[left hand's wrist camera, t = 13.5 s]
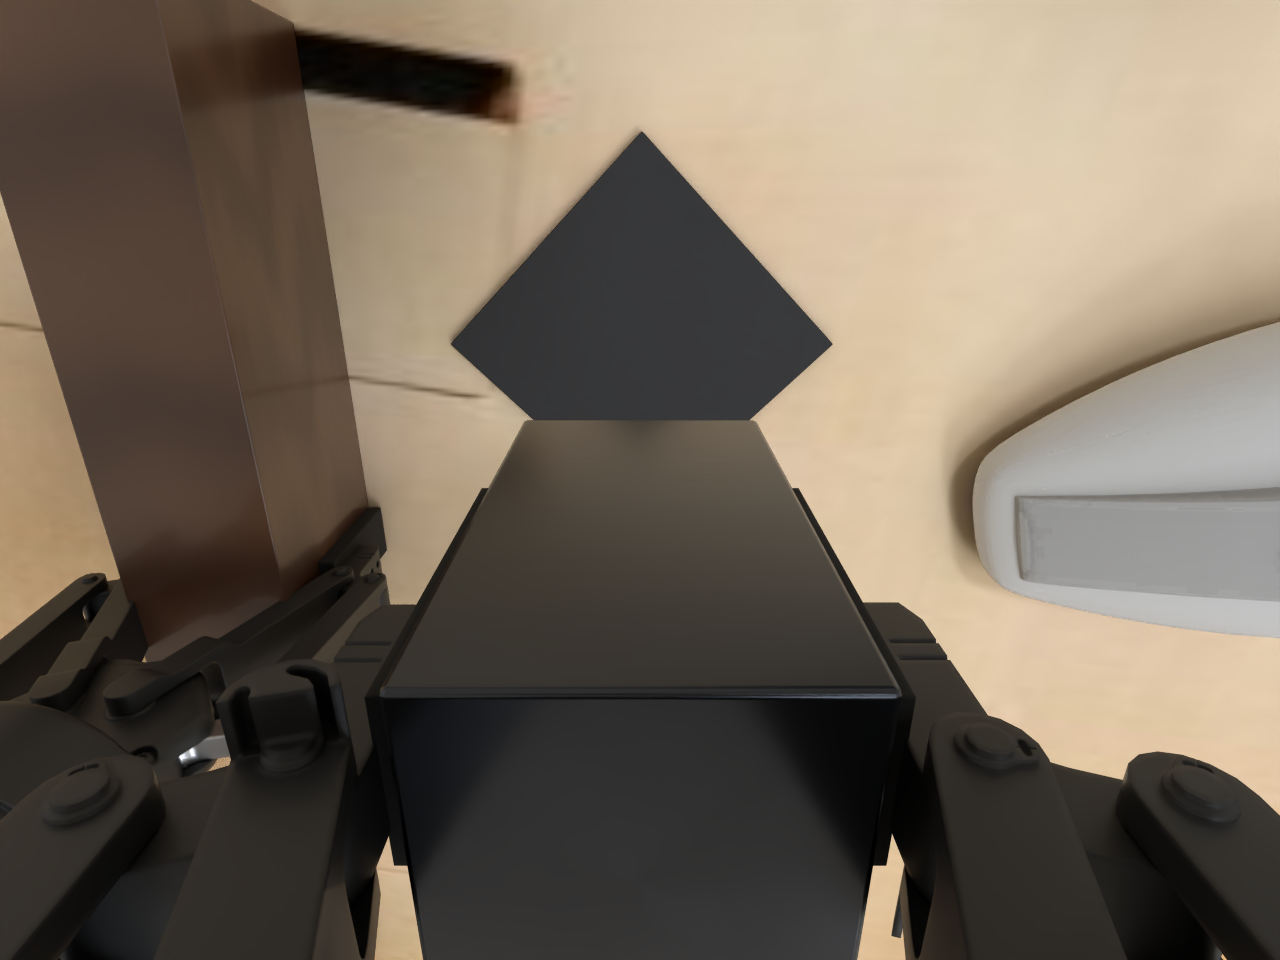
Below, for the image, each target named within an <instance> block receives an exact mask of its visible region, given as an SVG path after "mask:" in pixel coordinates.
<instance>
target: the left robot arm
mask: <svg viewBox="0 0 1280 960" xmlns="http://www.w3.org/2000/svg"><path fill="white" fill-rule="evenodd" d="M792 489H793V491H794V493H795V495H796V497H797V498H798V500H799V502H800V504H801V506H802V508H803V510H804V511H805V513H806V515H807V517H808V519H809V521H810V522H811V524H812V526H813V528H814V530H815V532H816V534H817V535H818V537H819V539H820V541H821V543H822V545H823V547H824V548H825V550H826V552H827V554H828V556H829V558H830V560H831V561H832V563H833V565H834V567H835V569H836V571H837V572H838V574H839V576H840V578H841V580H842V582H843V584H844V585H845V587H846V589H847V591H848V593H849V595H850V597H851V598H852V600H853V602H854V604H855V606H856V608H857V610H858V611H859V613H860V615H861V617H862V619H863V621H864V622H865V624H866V626H867V628H868V630H869V632H870V634H871V635H872V637H873V639H874V641H875V643H876V645H877V647H878V648H879V650H880V652H881V654H882V656H883V658H884V660H885V661H886V663H887V665H888V667H889V669H890V671H891V672H892V674H893V676H894V678H895V680H896V682H897V684H898V685H899V687H900V690H901V693H902V696H901V703H900V709H899V715H898V721H897V727H896V733H895V739H894V745H893V750H892V756H891V762H890V768H889V774H888V780H887V786H886V792H885V798H884V804H883V809H882V815H881V821H880V827H879V833H878V839H877V845H876V851H875V857H874V863H873V866H886V864H887V859H888V853H889V848H890V842H891V836H892V834H893V837H894V839H895V842H896V844H897V847H898V849H899V852H900V854H901V857H902V859H903V862H904V869H903V875H902V880H901V885H900V890H899V896H898V901H897V906H896V911H895V917H894V922H893V929H892V936H894V937H898V938H901V934H902V928H903V935H904V946H905V956H906V960H1223V959H1222V958H1221V955H1222V954H1223V955H1224V956H1225V958H1226V959H1227V960H1280V815H1279V814H1277V813H1276V812H1275V811H1274V810H1273V809H1272V808H1271V807H1270V806H1269V805H1268V804H1267V803H1266V802H1265V801H1264V800H1263V799H1262V798H1261V797H1260V796H1259V795H1257V794H1256V793H1255V792H1254V791H1252V790H1251V789H1250V788H1248V787H1247V786H1246V785H1245V784H1243V783H1242V782H1241V781H1239V780H1238V779H1237V778H1235V777H1233V776H1231V775H1229V774H1227V773H1226V772H1224V771H1222V770H1220V769H1218V768H1216V767H1214V766H1212V765H1210V764H1208V763H1205V762H1202V761H1200V760H1196V759H1193V758H1190V757H1187V756H1184V755H1179V754H1172V753H1165V752H1152V753H1145V754H1139V755H1138V756H1137V757H1135V758H1134V759H1133V760H1132V761H1131V762H1129V763H1128V766H1127V769H1126V772H1125V775H1124V779H1123V780H1120V779H1116V778H1111V777H1107V776H1102V775H1098V774H1094V773H1089V772H1085V771H1080V770H1076V769H1072V768H1068V767H1064V766H1061V765H1058V764H1054V763H1051V762H1050V761H1049V759H1048V757H1047V756H1046V754H1045V753H1044V751H1043V750H1042V748H1041V747H1040V745H1039V744H1038V743H1037V742H1036V741H1035V740H1034V739H1032V738H1031V737H1030V736H1029V735H1027V734H1026V733H1025V732H1024V731H1022V730H1021V729H1019V728H1017V727H1015V726H1013V725H1011V724H1009V723H1007V722H1005V721H1003V720H1001V719H999V718H995V717H991V716H988V715H987V713H986V712H985V711H984V709H983V708H982V706H981V705H980V703H979V702H978V700H977V699H976V697H975V696H974V694H973V693H972V692H971V690H970V689H969V687H968V686H967V684H966V683H965V681H964V680H963V678H962V677H961V675H960V674H959V673H958V671H957V670H956V668H955V667H954V665H953V664H952V662H951V661H950V660H947V655H946V654H945V652H944V651H943V649H942V648H941V646H940V645H939V643H936V639H935V637H934V636H933V634H932V633H931V632H930V630H929V629H928V627H927V626H926V624H925V623H924V621H923V620H922V619H921V618H919V617H918V616H917V615H915V614H914V613H912V612H911V611H909V610H908V609H907V608H905V607H904V606H902V605H901V604H900V603H863V602H862V600H861V598H860V597H859V595H858V593H857V591H856V590H855V588H854V586H853V584H852V582H851V581H850V579H849V577H848V575H847V574H846V572H845V570H844V568H843V566H842V565H841V563H840V561H839V559H838V558H837V556H836V554H835V552H834V550H833V549H832V547H831V545H830V543H829V542H828V540H827V538H826V536H825V534H824V533H823V531H822V529H821V527H820V526H819V524H818V522H817V520H816V519H815V517H814V515H813V513H812V511H811V510H810V508H809V506H808V504H807V503H806V501H805V499H804V497H803V495H802V494H801V492H800V490H799V488H792ZM487 490H488V488H482V489H481V491H480V493H479V494H478V496H477V498H476V500H475V502H474V503H473V505H472V507H471V509H470V510H469V512H468V514H467V516H466V518H465V519H464V521H463V523H462V525H461V526H460V528H459V530H458V532H457V534H456V535H455V537H454V539H453V541H452V542H451V544H450V546H449V548H448V550H447V551H446V553H445V555H444V557H443V558H442V560H441V562H440V564H439V566H438V567H437V569H436V571H435V573H434V574H433V576H432V578H431V580H430V582H429V583H428V585H427V587H426V589H425V590H424V592H423V594H422V596H421V598H420V599H419V601H418V603H417V605H381V606H380V607H379V608H377V609H376V610H374V611H373V612H372V613H370V614H369V615H367V616H366V617H365V618H363V619H362V620H360V621H359V622H358V623H357V625H356V626H355V628H354V629H353V631H352V632H351V634H350V635H349V637H348V638H347V640H346V641H345V646H342V647H341V648H340V650H339V651H338V653H337V654H336V656H335V657H334V662H331V663H330V664H329V663H326V662H322V661H318V660H314V659H297V660H287V661H283V662H279V663H275V664H271V665H267V666H265V667H262V668H260V669H258V670H256V671H253V672H251V673H249V674H247V675H245V676H243V677H242V678H240V679H239V680H238V681H236V682H235V683H233V684H232V685H231V686H229V687H228V688H227V689H226V690H225V691H224V692H223V694H222V695H221V696H220V698H219V699H218V700H217V702H216V707H217V710H218V714H219V718H220V721H221V725H222V729H223V732H224V736H225V739H226V743H227V747H228V750H229V754H230V758H231V762H230V764H229V766H226V767H222V768H219V769H216V770H212V771H208V772H204V773H199V774H195V775H191V776H186V777H182V778H177V779H173V780H169V781H164V782H160V783H158V780H157V777H156V774H155V771H154V768H153V766H152V765H151V764H150V763H149V762H148V761H146V760H145V759H144V758H143V757H137V756H131V755H125V754H123V755H116V756H108V757H101V758H97V759H94V760H91V761H88V762H85V763H82V764H79V765H76V766H73V767H71V768H69V769H67V770H65V771H64V772H62V773H60V774H58V775H56V776H54V777H52V778H50V779H49V780H47V781H45V782H44V783H42V784H41V785H40V786H38V787H37V788H36V789H35V790H33V791H32V792H31V793H30V794H28V795H27V796H26V797H24V798H23V799H22V800H21V801H20V802H19V803H18V804H17V805H16V806H15V807H14V808H13V809H12V810H11V811H10V812H9V813H8V814H7V815H6V816H5V817H4V818H2V819H1V820H0V960H58V958H59V957H60V958H61V960H374V958H375V947H376V937H377V927H378V916H379V906H380V895H381V894H380V887H379V880H378V875H377V869H376V866H377V864H378V861H379V859H380V856H381V854H382V851H383V849H384V846H385V844H386V841H387V839H388V836H389V839H390V845H391V851H392V856H393V862H394V866H407V860H406V854H405V848H404V842H403V836H402V830H401V824H400V818H399V812H398V806H397V800H396V794H395V788H394V782H393V776H392V770H391V764H390V758H389V752H388V746H387V740H386V735H385V729H384V723H383V717H382V711H381V705H380V699H379V692H380V689H381V686H382V685H383V683H384V681H385V679H386V677H387V675H388V674H389V672H390V670H391V668H392V666H393V664H394V662H395V661H396V659H397V657H398V655H399V653H400V651H401V649H402V648H403V646H404V644H405V642H406V640H407V638H408V636H409V635H410V633H411V631H412V629H413V627H414V625H415V623H416V622H417V620H418V618H419V616H420V614H421V612H422V611H423V609H424V607H425V605H426V603H427V601H428V599H429V598H430V596H431V594H432V592H433V590H434V588H435V586H436V585H437V583H438V581H439V579H440V577H441V575H442V573H443V572H444V570H445V568H446V566H447V564H448V562H449V561H450V559H451V557H452V555H453V553H454V551H455V549H456V548H457V546H458V544H459V542H460V540H461V538H462V536H463V535H464V533H465V531H466V529H467V527H468V525H469V523H470V522H471V520H472V518H473V516H474V514H475V512H476V511H477V509H478V507H479V505H480V503H481V501H482V499H483V498H484V496H485V494H486V492H487Z"/></svg>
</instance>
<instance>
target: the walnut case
mask: <svg viewBox="0 0 1280 960" xmlns="http://www.w3.org/2000/svg"><path fill="white" fill-rule="evenodd" d="M0 193H1V196H2V199H3V202H4V206H5V209H6V212H7V215H8V218H9V222H10V225H11V228H12V231H13V234H14V238H15V241H16V244H17V247H18V251H19V254H20V257H21V260H22V263H23V267H24V270H25V273H26V276H27V279H28V283H29V286H30V289H31V292H32V295H33V299H34V302H35V305H36V308H37V312H38V315H39V318H40V321H41V324H42V328H43V331H44V334H45V337H46V340H47V344H48V347H49V350H50V353H51V357H52V360H53V363H54V366H55V369H56V373H57V376H58V379H59V382H60V385H61V389H62V392H63V395H64V398H65V401H66V405H67V408H68V411H69V414H70V418H71V421H72V424H73V427H74V430H75V434H76V437H77V440H78V443H79V446H80V450H81V453H82V456H83V459H84V463H85V466H86V469H87V472H88V475H89V479H90V482H91V485H92V488H93V491H94V495H95V498H96V501H97V504H98V507H99V511H100V514H101V517H102V520H103V524H104V527H105V530H106V533H107V536H108V540H109V543H110V546H111V549H112V552H113V556H114V559H115V562H116V565H117V569H118V572H119V575H120V578H121V581H122V585H123V588H124V591H125V594H126V597H127V601H134V602H135V605H136V608H137V612H138V615H139V618H140V621H141V625H142V628H143V631H144V634H145V637H146V641H147V644H148V647H149V648H148V650H147V652H146V654H145V658H146V662H154V661H161V660H163V659H165V658H166V657H168V656H170V655H171V654H173V653H175V652H176V651H178V650H180V649H181V648H183V647H185V646H186V645H188V644H190V643H191V642H193V641H195V640H196V639H198V638H200V637H202V636H209V637H213V638H216V639H218V638H220V637H222V636H223V635H225V634H227V633H228V632H230V631H231V630H233V629H235V628H236V627H238V626H240V625H241V624H243V623H244V622H246V621H248V620H249V619H251V618H252V617H254V616H256V615H257V614H259V613H261V612H262V611H264V610H265V609H267V608H269V607H270V606H272V605H274V604H275V603H277V602H278V601H287V600H288V599H289V598H290V596H291V595H292V594H293V593H294V592H295V591H296V590H298V589H300V588H301V587H303V586H304V585H306V584H308V583H309V582H311V581H313V580H314V579H316V578H317V577H319V576H320V571H319V566H318V562H319V561H320V560H321V559H322V557H323V556H324V555H325V554H326V553H327V552H328V551H329V550H330V549H331V548H332V546H333V545H334V544H335V543H336V542H337V541H338V540H339V539H340V538H341V536H342V535H343V534H344V533H345V532H346V531H347V530H348V529H349V528H350V526H351V525H352V524H353V523H354V522H355V521H356V520H357V519H358V518H359V517H360V515H361V514H362V513H363V512H364V511H365V510H366V509H367V508H369V507H368V501H367V494H366V488H365V481H364V475H363V468H362V462H361V456H360V449H359V443H358V436H357V430H356V424H355V417H354V411H353V404H352V398H351V391H350V385H349V379H348V372H347V366H346V359H345V353H344V347H343V340H342V334H341V327H340V321H339V314H338V308H337V302H336V295H335V289H334V282H333V276H332V270H331V263H330V257H329V250H328V244H327V237H326V231H325V225H324V218H323V212H322V205H321V199H320V193H319V186H318V180H317V173H316V167H315V160H314V154H313V148H312V141H311V135H310V128H309V122H308V116H307V109H306V103H305V96H304V90H303V83H302V77H301V71H300V64H299V58H298V51H297V45H296V38H295V32H294V26H293V23H292V22H290V21H289V20H287V19H285V18H283V17H281V16H279V15H277V14H275V13H273V12H271V11H270V10H268V9H266V8H264V7H262V6H260V5H258V4H256V3H254V2H253V1H251V0H0ZM200 672H201V671H200Z"/></svg>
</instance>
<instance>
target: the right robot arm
mask: <svg viewBox="0 0 1280 960" xmlns="http://www.w3.org/2000/svg"><path fill="white" fill-rule="evenodd" d="M386 551H387V548H386V541H385V535H384V528H383V522H382V515H381V508H367V509H366V510H365V511H364V512H363V513H362V514H361V515H360V517H359V518H358V519H357V520H356V521H355V522H354V523H353V524H352V525H351V526H350V528H349V529H348V530H347V531H346V532H345V533H344V534H343V535H342V536H341V538H340V539H339V540H338V541H337V542H336V543H335V544H334V545H333V546H332V548H331V549H330V550H329V551H328V552H327V553H326V554H325V555H324V556H323V557H322V559H321V560H320V561H319V562H318V566H319V571H320V576H319V577H317V578H316V579H314V580H313V581H311V582H309V583H308V584H306V585H304V586H303V587H301V588H300V589H298V590H296V591H295V592H294V593H293V594H292V595H291V596H290V598H289V599H288V600H287V601H278V602H277V603H275V604H274V605H272V606H270V607H269V608H267V609H265V610H264V611H262V612H261V613H259V614H257V615H256V616H254V617H252V618H251V619H249V620H248V621H246V622H244V623H243V624H241V625H240V626H238V627H236V628H235V629H233V630H231V631H230V632H228V633H227V634H225V635H223V636H222V637H220V638H218V639H216V638H213V637H209V636H202V637H200V638H198V639H196V640H195V641H193V642H191V643H190V644H188V645H186V646H185V647H183V648H181V649H180V650H178V651H176V652H175V653H173V654H171V655H170V656H168V657H166V658H165V659H163V660H161V661H154V662H142V660H143V658H144V656H145V654H146V652H147V650H148V648H149V647H148V644H147V641H146V637H145V634H144V631H143V628H142V625H141V621H140V618H139V615H138V612H137V608H136V605H135V602H134V601H127V597H126V594H125V591H124V588H123V585H122V581H121V578H120V579H119V580H112V581H107V579H106V576H105V574H103V573H94V574H93V573H91V574H87V575H84V576H83V577H80V578H79V579H77V580H75V581H74V582H73V583H72V584H70V585H69V586H68V587H66V588H65V589H64V590H63V591H61V592H60V593H59V594H58V595H56V596H55V597H54V598H53V599H51V600H50V601H49V602H48V603H46V604H45V605H44V606H42V607H41V608H40V609H39V610H37V611H36V612H35V613H34V614H32V615H31V616H30V617H29V618H27V619H26V620H25V621H23V622H22V623H21V624H20V625H18V626H17V627H16V628H15V629H13V630H12V631H11V632H10V633H8V634H7V635H6V636H5V637H3V638H2V639H1V640H0V820H1V819H2V818H4V817H5V816H6V815H7V814H8V813H9V812H10V811H11V810H12V809H13V808H14V807H15V806H16V805H17V804H18V803H19V802H20V801H21V800H22V799H23V798H24V797H26V796H27V795H28V794H30V793H31V792H32V791H33V790H35V789H36V788H37V787H38V786H40V785H41V784H42V783H44V782H45V781H47V780H49V779H50V778H52V777H54V776H56V775H58V774H60V773H62V772H64V771H65V770H67V769H69V768H71V767H73V766H76V765H79V764H82V763H85V762H88V761H91V760H94V759H97V758H101V757H108V756H116V755H123V754H125V755H131V756H137V757H143V758H144V759H145V760H146V761H148V762H149V763H150V764H151V765H152V766H153V768H154V771H155V774H156V777H157V780H158V783H160V782H164V781H169V780H173V779H177V778H182V777H186V776H191V775H195V774H199V773H204V772H207V771H208V770H209V769H210V768H211V767H212V766H213V765H214V764H215V762H216V761H217V759H218V758H222V757H229V756H230V754H229V750H228V747H227V743H226V739H225V736H224V732H223V729H222V725H221V721H220V718H219V714H218V710H217V707H216V702H217V700H218V699H219V698H220V696H221V695H222V694H223V692H224V691H225V690H226V689H227V688H228V687H229V686H231V685H232V684H233V683H235V682H236V681H238V680H239V679H240V678H242V677H243V676H245V675H247V674H249V673H251V672H253V671H256V670H258V669H260V668H262V667H265V666H267V665H271V664H275V663H279V662H283V661H287V660H297V659H314V660H318V661H322V662H326V663H329V664H330V663H331V662H334V657H335V656H336V654H337V653H338V651H339V650H340V648H341V647H342V646H345V641H346V640H347V638H348V637H349V635H350V634H351V632H352V631H353V629H354V628H355V626H356V625H357V623H358V622H359V621H360V620H362V619H363V618H365V617H366V616H367V615H369V614H370V613H372V612H373V611H374V610H376V609H377V608H379V607H380V606H381V605H390V600H389V593H388V587H387V581H386V576H385V574H383V573H382V569H381V562H380V559H381V557H382V556H383V555H384V553H385V552H386ZM83 612H84V615H85V619H84V616H83ZM200 671H201V672H200ZM59 958H60V957H59Z"/></svg>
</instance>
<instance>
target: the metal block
mask: <svg viewBox="0 0 1280 960" xmlns="http://www.w3.org/2000/svg"><path fill="white" fill-rule="evenodd" d="M901 696H902V693H901V690H900V687H899V685H898V684H897V682H896V680H895V678H894V676H893V674H892V672H891V671H890V669H889V667H888V665H887V663H886V661H885V660H884V658H883V656H882V654H881V652H880V650H879V648H878V647H877V645H876V643H875V641H874V639H873V637H872V635H871V634H870V632H869V630H868V628H867V626H866V624H865V622H864V621H863V619H862V617H861V615H860V613H859V611H858V610H857V608H856V606H855V604H854V602H853V600H852V598H851V597H850V595H849V593H848V591H847V589H846V587H845V585H844V584H843V582H842V580H841V578H840V576H839V574H838V572H837V571H836V569H835V567H834V565H833V563H832V561H831V560H830V558H829V556H828V554H827V552H826V550H825V548H824V547H823V545H822V543H821V541H820V539H819V537H818V535H817V534H816V532H815V530H814V528H813V526H812V524H811V522H810V521H809V519H808V517H807V515H806V513H805V511H804V510H803V508H802V506H801V504H800V502H799V500H798V498H797V497H796V495H795V493H794V491H793V489H792V487H791V485H790V484H789V482H788V480H787V478H786V476H785V474H784V472H783V471H782V469H781V467H780V465H779V463H778V461H777V460H776V458H775V456H774V454H773V452H772V450H771V448H770V447H769V445H768V443H767V441H766V439H765V437H764V435H763V434H762V432H761V430H760V428H759V426H758V424H757V422H755V421H747V420H527V421H525V422H524V423H523V425H522V427H521V429H520V431H519V433H518V435H517V436H516V438H515V440H514V442H513V444H512V446H511V448H510V449H509V451H508V453H507V455H506V457H505V459H504V460H503V462H502V464H501V466H500V468H499V470H498V472H497V473H496V475H495V477H494V479H493V481H492V483H491V485H490V486H489V488H488V490H487V492H486V494H485V496H484V498H483V499H482V501H481V503H480V505H479V507H478V509H477V511H476V512H475V514H474V516H473V518H472V520H471V522H470V523H469V525H468V527H467V529H466V531H465V533H464V535H463V536H462V538H461V540H460V542H459V544H458V546H457V548H456V549H455V551H454V553H453V555H452V557H451V559H450V561H449V562H448V564H447V566H446V568H445V570H444V572H443V573H442V575H441V577H440V579H439V581H438V583H437V585H436V586H435V588H434V590H433V592H432V594H431V596H430V598H429V599H428V601H427V603H426V605H425V607H424V609H423V611H422V612H421V614H420V616H419V618H418V620H417V622H416V623H415V625H414V627H413V629H412V631H411V633H410V635H409V636H408V638H407V640H406V642H405V644H404V646H403V648H402V649H401V651H400V653H399V655H398V657H397V659H396V661H395V662H394V664H393V666H392V668H391V670H390V672H389V674H388V675H387V677H386V679H385V681H384V683H383V685H382V686H381V689H380V692H379V699H380V705H381V711H382V717H383V723H384V729H385V735H386V740H387V746H388V752H389V758H390V764H391V770H392V776H393V782H394V788H395V794H396V800H397V806H398V812H399V818H400V824H401V830H402V836H403V842H404V848H405V854H406V860H407V866H408V871H409V877H410V883H411V889H412V895H413V901H414V907H415V913H416V919H417V925H418V931H419V937H420V943H421V949H422V955H423V960H857V957H858V951H859V945H860V939H861V934H862V928H863V922H864V916H865V910H866V904H867V898H868V892H869V886H870V880H871V874H872V869H873V863H874V857H875V851H876V845H877V839H878V833H879V827H880V821H881V815H882V809H883V804H884V798H885V792H886V786H887V780H888V774H889V768H890V762H891V756H892V750H893V745H894V739H895V733H896V727H897V721H898V715H899V709H900V703H901Z"/></svg>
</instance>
